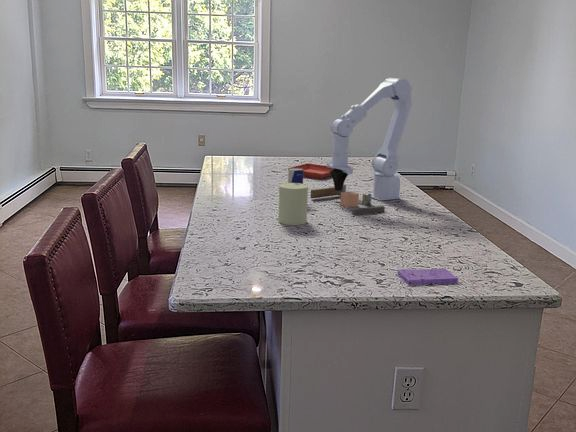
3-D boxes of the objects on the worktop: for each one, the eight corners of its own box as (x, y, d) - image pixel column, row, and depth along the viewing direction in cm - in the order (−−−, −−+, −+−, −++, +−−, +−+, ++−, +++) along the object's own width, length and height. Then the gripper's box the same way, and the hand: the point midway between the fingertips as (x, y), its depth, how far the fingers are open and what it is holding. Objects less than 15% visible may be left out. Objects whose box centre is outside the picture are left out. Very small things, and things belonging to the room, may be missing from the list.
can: (310, 219, 194) (312, 182, 191) (301, 226, 186) (303, 188, 183) (283, 216, 197) (284, 180, 194) (273, 223, 189) (274, 185, 186)
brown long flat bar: (339, 194, 228) (340, 186, 227) (312, 198, 221) (312, 190, 220) (337, 194, 229) (338, 186, 228) (310, 197, 222) (310, 189, 221)
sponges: (396, 276, 147) (397, 269, 146) (445, 274, 149) (446, 267, 149) (407, 287, 140) (408, 279, 140) (458, 284, 142) (458, 277, 142)
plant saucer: (341, 174, 272) (342, 167, 272) (322, 181, 258) (322, 173, 257) (307, 170, 282) (307, 163, 281) (286, 175, 267) (286, 168, 266)
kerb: (381, 210, 208) (382, 205, 207) (384, 211, 207) (384, 206, 206) (352, 213, 203) (352, 208, 202) (354, 215, 201) (355, 209, 201)
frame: (345, 194, 232) (346, 184, 230) (374, 205, 215) (374, 194, 214) (337, 195, 230) (338, 184, 229) (365, 206, 214) (366, 195, 213)
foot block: (351, 203, 218) (351, 191, 217) (358, 206, 214) (358, 193, 213) (340, 204, 216) (341, 192, 215) (347, 207, 212) (347, 194, 211)
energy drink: (300, 204, 214) (302, 170, 211) (286, 203, 215) (287, 169, 212) (303, 200, 219) (304, 168, 216) (289, 199, 220) (290, 167, 217)
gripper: (320, 150, 221) (318, 186, 225) (341, 156, 209) (339, 195, 212) (337, 149, 224) (335, 185, 228) (358, 155, 212) (356, 193, 215)
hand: (338, 190), depth 220 cm, fingers closed
